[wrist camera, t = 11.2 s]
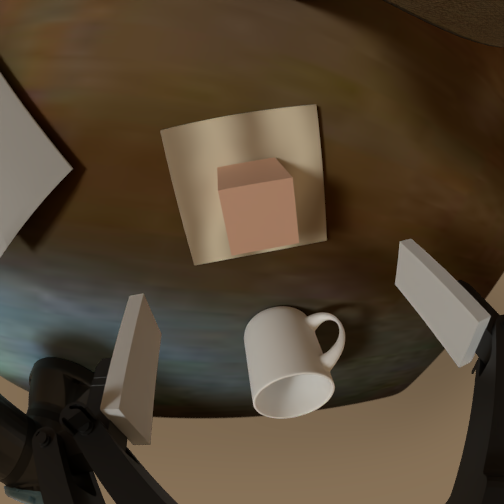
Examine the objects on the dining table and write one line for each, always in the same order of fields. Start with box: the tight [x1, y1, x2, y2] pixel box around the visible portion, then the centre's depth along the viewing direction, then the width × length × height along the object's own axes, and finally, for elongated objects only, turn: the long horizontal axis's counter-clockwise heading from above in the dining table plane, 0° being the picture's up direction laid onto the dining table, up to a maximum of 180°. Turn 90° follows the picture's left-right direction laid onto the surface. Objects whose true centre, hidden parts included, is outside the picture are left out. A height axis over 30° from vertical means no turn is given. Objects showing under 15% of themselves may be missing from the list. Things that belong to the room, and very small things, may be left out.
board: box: [160, 104, 327, 265], centre depth 29 cm, size 14×14×1 cm
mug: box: [244, 306, 345, 419], centre depth 33 cm, size 9×12×11 cm
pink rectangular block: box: [217, 157, 299, 255], centre depth 25 cm, size 5×5×7 cm
